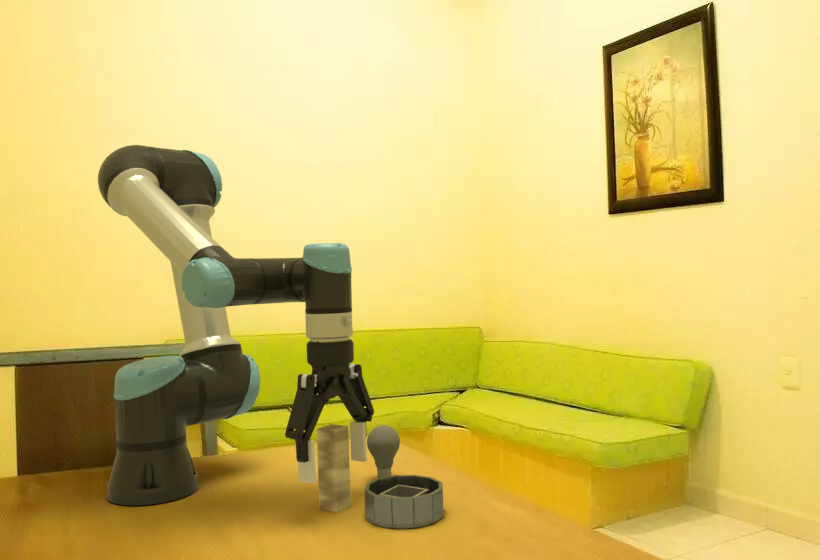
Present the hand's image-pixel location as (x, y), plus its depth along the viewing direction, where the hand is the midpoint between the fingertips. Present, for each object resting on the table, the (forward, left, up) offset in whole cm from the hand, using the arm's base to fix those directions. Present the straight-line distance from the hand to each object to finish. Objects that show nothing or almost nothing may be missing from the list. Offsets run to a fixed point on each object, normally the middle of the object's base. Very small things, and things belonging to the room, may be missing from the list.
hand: (334, 470), depth 116 cm
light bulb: (-1, +16, -6) cm, 17 cm away
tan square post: (0, 0, -6) cm, 6 cm away
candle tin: (+12, +2, -6) cm, 13 cm away
